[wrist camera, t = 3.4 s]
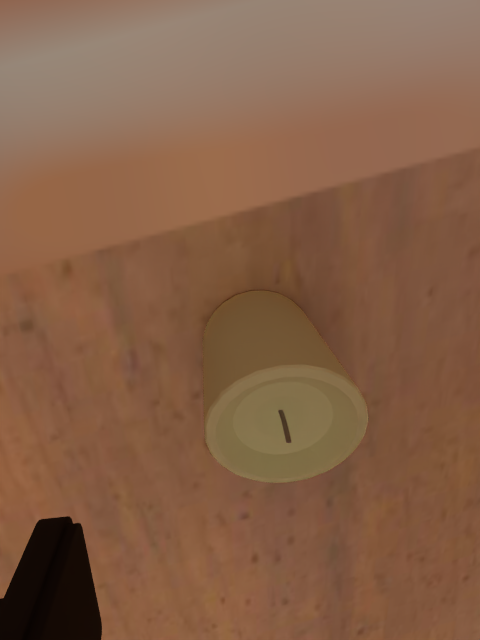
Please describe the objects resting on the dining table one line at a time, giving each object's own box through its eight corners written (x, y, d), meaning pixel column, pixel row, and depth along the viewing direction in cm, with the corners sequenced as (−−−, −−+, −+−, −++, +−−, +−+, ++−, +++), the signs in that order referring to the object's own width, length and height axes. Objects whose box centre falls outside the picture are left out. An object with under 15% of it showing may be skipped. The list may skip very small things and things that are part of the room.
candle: (302, 394, 22) (357, 518, 14) (197, 387, 21) (196, 513, 14) (319, 294, 21) (392, 371, 13) (207, 283, 20) (213, 358, 12)
